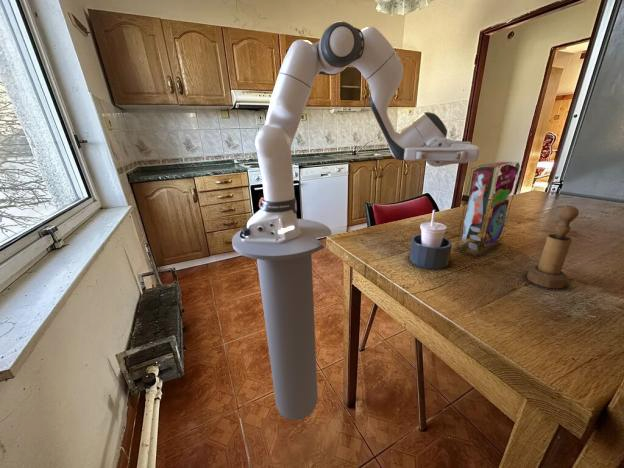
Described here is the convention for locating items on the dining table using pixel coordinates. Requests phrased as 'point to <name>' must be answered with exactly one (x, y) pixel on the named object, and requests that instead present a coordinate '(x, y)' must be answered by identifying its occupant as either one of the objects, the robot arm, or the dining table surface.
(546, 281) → the mortar and pestle
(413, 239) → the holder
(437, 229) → the smoothie
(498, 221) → the box
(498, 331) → the dining table surface
